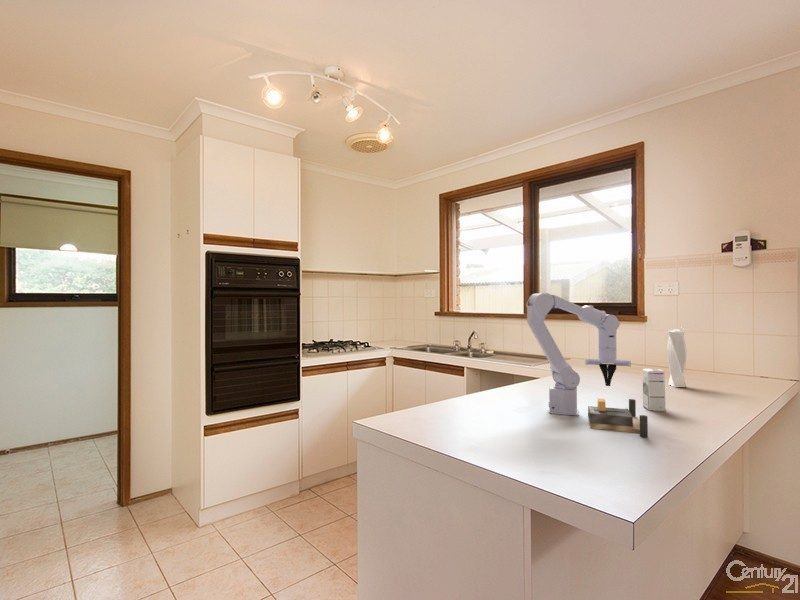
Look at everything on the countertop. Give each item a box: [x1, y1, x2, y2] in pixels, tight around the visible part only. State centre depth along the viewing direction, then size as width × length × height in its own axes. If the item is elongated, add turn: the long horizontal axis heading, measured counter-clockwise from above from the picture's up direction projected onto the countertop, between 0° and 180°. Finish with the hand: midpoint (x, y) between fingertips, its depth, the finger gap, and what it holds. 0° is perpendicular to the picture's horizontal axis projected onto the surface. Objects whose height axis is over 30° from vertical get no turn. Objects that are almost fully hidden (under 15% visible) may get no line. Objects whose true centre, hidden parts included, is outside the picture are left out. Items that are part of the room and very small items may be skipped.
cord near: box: [639, 414, 649, 439], centre depth 121 cm, size 2×2×6 cm
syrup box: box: [641, 368, 667, 412], centre depth 152 cm, size 6×6×14 cm
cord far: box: [628, 398, 637, 417], centre depth 142 cm, size 2×2×6 cm
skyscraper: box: [666, 326, 687, 388], centre depth 192 cm, size 8×8×28 cm
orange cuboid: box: [597, 398, 607, 411], centre depth 135 cm, size 2×4×3 cm, turn 158°
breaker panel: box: [587, 405, 640, 434], centre depth 134 cm, size 15×15×4 cm
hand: (607, 385), depth 149 cm, fingers closed
